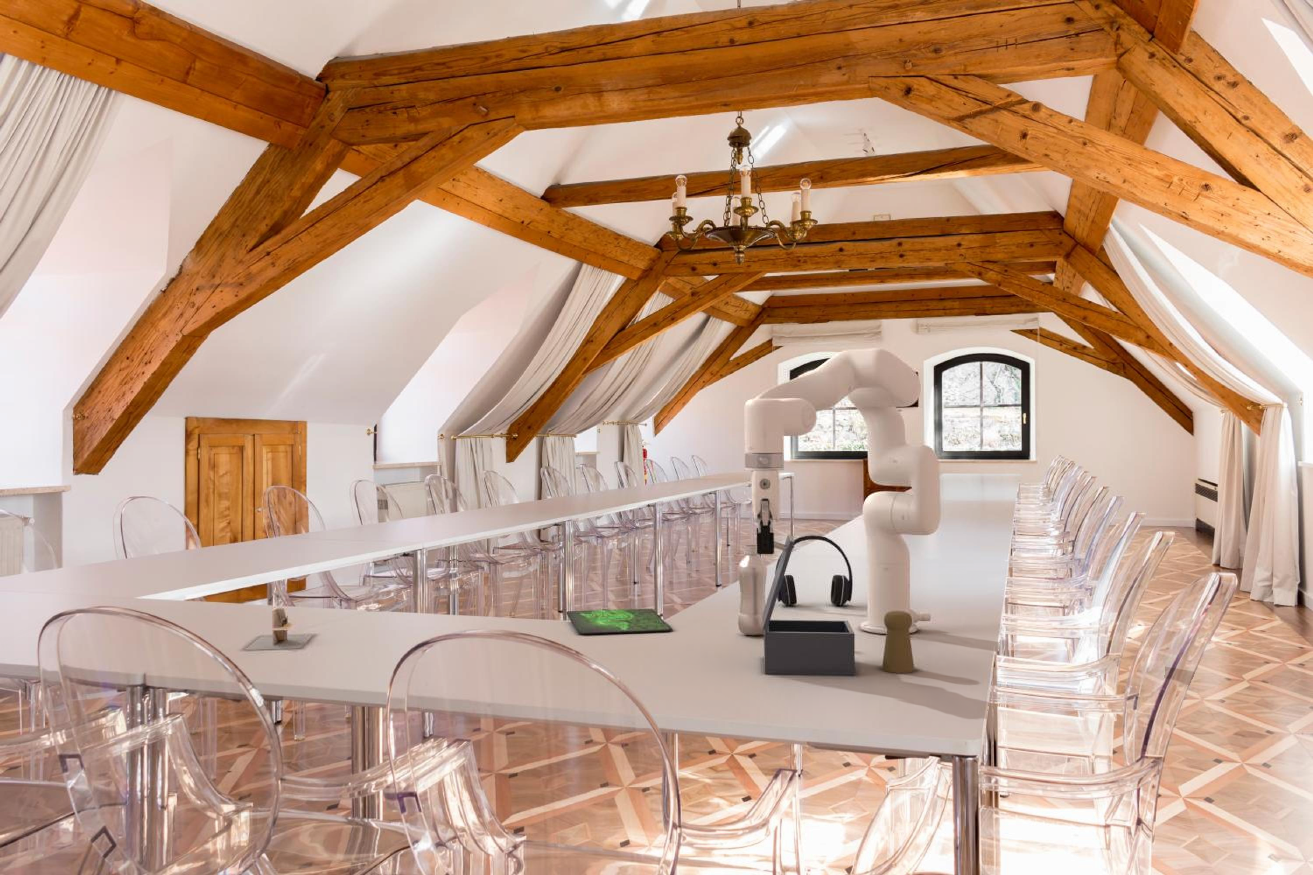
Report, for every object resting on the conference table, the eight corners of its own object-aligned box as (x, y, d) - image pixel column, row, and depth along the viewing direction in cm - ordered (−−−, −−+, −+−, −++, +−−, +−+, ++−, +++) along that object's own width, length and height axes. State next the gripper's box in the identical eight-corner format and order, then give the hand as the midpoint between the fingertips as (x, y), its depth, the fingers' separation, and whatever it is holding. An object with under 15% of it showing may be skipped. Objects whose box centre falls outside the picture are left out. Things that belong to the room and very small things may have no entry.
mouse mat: (674, 631, 237) (674, 626, 237) (577, 635, 233) (577, 630, 233) (651, 611, 264) (651, 607, 264) (564, 614, 260) (564, 610, 260)
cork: (877, 665, 202) (877, 609, 202) (908, 665, 202) (908, 608, 202) (887, 673, 196) (887, 614, 196) (918, 672, 196) (918, 613, 196)
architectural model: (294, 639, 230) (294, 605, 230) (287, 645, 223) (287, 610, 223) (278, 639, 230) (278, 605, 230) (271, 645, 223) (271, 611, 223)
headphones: (776, 607, 270) (776, 537, 270) (773, 603, 277) (773, 534, 277) (854, 607, 270) (853, 536, 270) (849, 603, 277) (849, 534, 277)
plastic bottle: (766, 638, 230) (766, 547, 230) (736, 637, 231) (735, 546, 231) (769, 632, 236) (769, 544, 236) (739, 631, 237) (739, 543, 237)
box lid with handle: (791, 535, 208) (764, 526, 209) (794, 542, 195) (765, 532, 195) (765, 617, 209) (738, 609, 209) (766, 630, 195) (738, 621, 196)
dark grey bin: (848, 659, 207) (847, 620, 207) (854, 675, 194) (854, 633, 194) (764, 658, 209) (763, 619, 209) (764, 673, 195) (764, 632, 195)
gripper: (785, 464, 193) (786, 556, 193) (782, 460, 210) (783, 545, 211) (744, 464, 194) (745, 556, 194) (745, 461, 211) (746, 545, 211)
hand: (765, 550), depth 202 cm, fingers open, 9 cm apart
